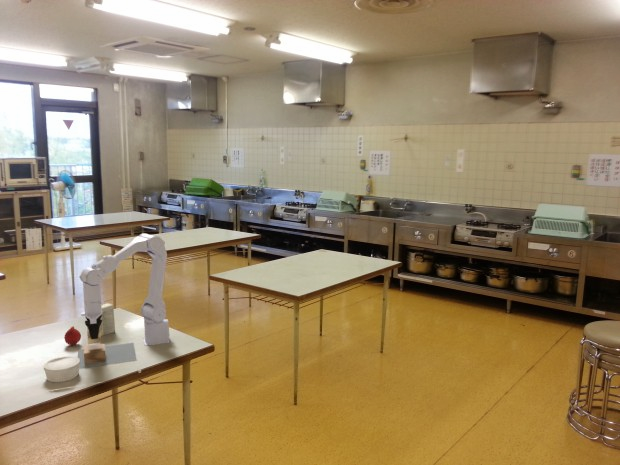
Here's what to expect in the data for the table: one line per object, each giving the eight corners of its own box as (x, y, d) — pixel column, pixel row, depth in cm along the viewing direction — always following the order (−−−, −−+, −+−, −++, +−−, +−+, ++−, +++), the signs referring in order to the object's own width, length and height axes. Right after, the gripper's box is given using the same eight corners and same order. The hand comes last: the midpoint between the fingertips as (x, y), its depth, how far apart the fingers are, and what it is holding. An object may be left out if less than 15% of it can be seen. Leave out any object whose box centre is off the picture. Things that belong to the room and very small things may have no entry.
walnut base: (105, 353, 184) (104, 343, 183) (105, 361, 177) (105, 350, 177) (85, 356, 181) (84, 346, 180) (84, 364, 174) (83, 353, 174)
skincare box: (109, 329, 209) (108, 302, 207) (115, 332, 206) (114, 304, 204) (95, 334, 204) (94, 306, 202) (101, 336, 201) (100, 308, 199)
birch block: (101, 338, 181) (100, 325, 180) (101, 342, 177) (100, 329, 176) (88, 339, 179) (87, 326, 179) (88, 344, 175) (87, 330, 174)
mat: (133, 343, 195) (133, 342, 195) (136, 361, 178) (136, 360, 178) (78, 350, 187) (78, 349, 187) (76, 370, 170) (76, 369, 170)
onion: (74, 349, 188) (73, 329, 187) (61, 348, 189) (60, 328, 188) (84, 343, 194) (83, 324, 192) (71, 342, 195) (70, 323, 193)
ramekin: (68, 367, 173) (67, 353, 172) (88, 375, 167) (87, 360, 166) (37, 379, 163) (36, 364, 162) (57, 388, 158) (56, 372, 157)
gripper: (81, 296, 181) (83, 330, 183) (79, 307, 168) (81, 344, 170) (101, 294, 183) (103, 328, 186) (101, 305, 170) (103, 342, 173)
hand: (94, 336), depth 178 cm, fingers closed on birch block, 4 cm apart
